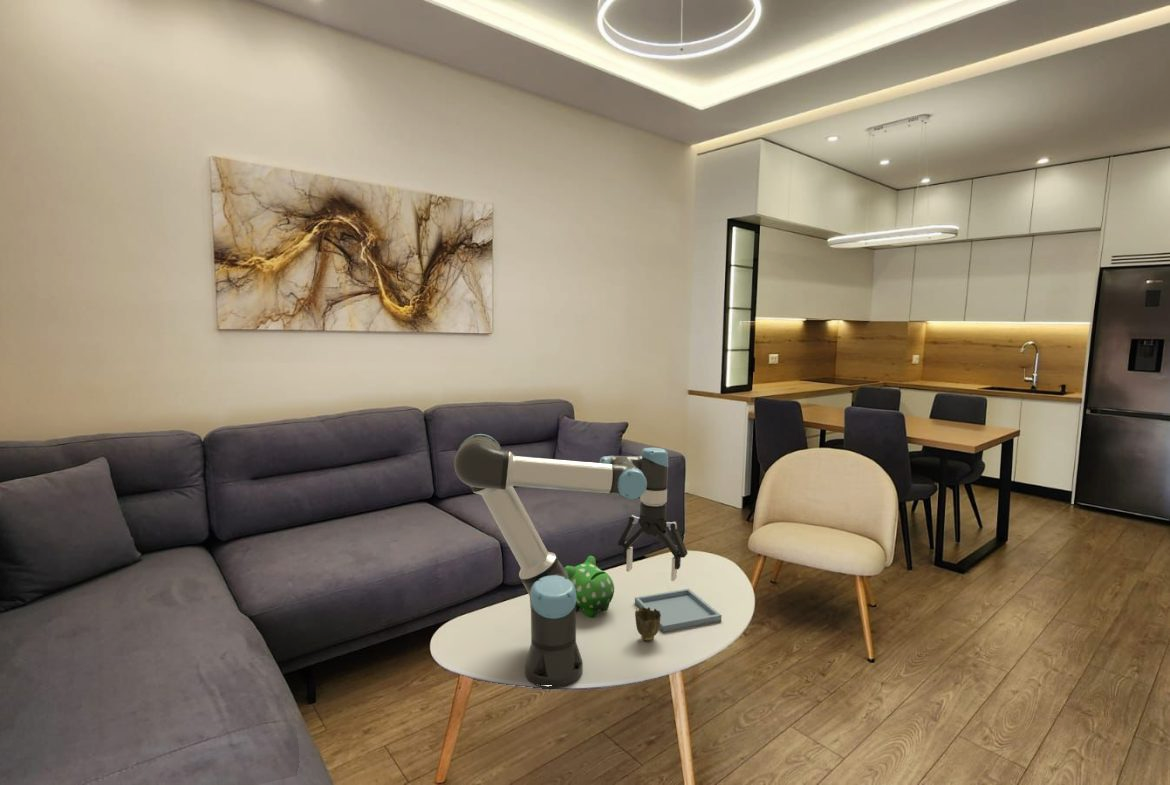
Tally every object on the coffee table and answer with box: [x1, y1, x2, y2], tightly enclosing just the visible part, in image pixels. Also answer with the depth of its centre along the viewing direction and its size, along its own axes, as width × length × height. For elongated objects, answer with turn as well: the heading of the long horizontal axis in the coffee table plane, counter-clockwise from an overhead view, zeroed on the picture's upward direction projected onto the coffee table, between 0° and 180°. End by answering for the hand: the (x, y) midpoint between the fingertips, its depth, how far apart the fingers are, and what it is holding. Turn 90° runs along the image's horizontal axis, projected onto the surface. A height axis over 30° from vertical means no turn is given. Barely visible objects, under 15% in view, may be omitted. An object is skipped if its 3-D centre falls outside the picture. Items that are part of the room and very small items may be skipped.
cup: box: [634, 607, 661, 643], centre depth 166 cm, size 8×7×8 cm
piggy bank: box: [564, 555, 615, 618], centre depth 185 cm, size 14×18×15 cm
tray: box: [634, 588, 722, 633], centre depth 183 cm, size 20×20×2 cm
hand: (651, 574), depth 166 cm, fingers open, 13 cm apart
